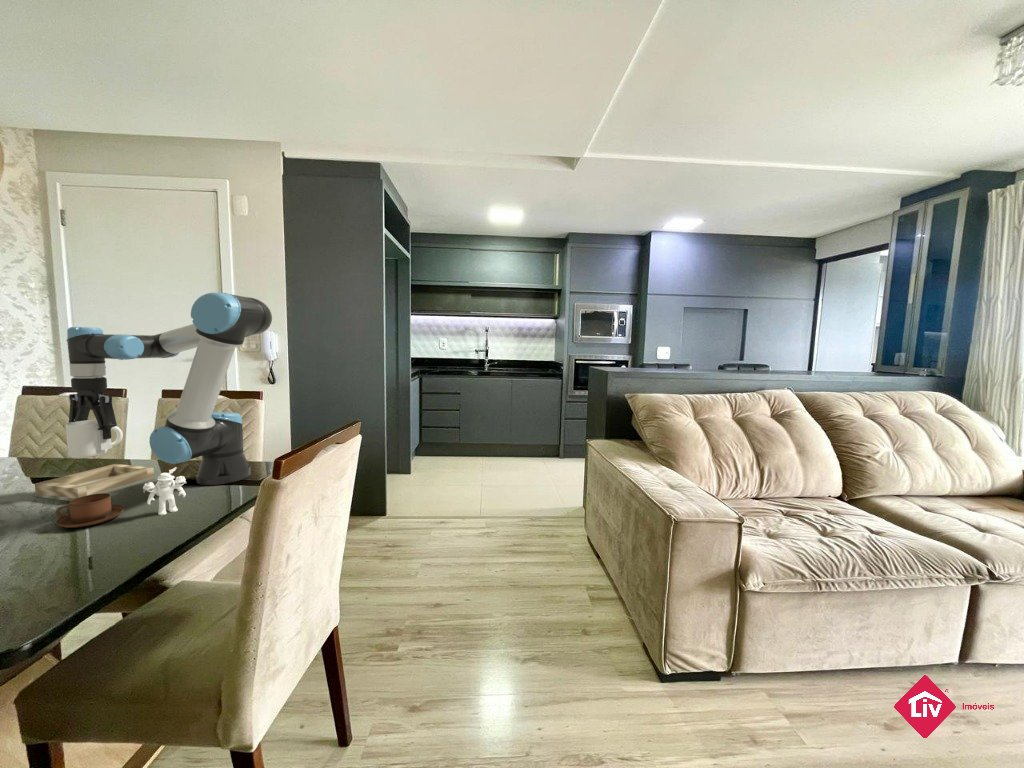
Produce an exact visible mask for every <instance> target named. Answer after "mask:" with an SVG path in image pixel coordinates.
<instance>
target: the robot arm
mask: <svg viewBox="0 0 1024 768" xmlns="http://www.w3.org/2000/svg"><path fill="white" fill-rule="evenodd" d="M190 309H191V310H190V318H191V319H192V321H191V324H188V325H185V326H181V327H178V328H175V329H174V328H173V329H170V330H168V331H164V332H161V333H157V334H154V335H153V334H152V335H149V334H147V335H143V334H142V335H141V334H140V335H139V334H121V333H120V334H119V333H118V334H107V333H106V334H104V330H103V329H102V328H100V327H86V326H84V327H83V326H71V327H68V329H67V333H66V335H67V338H66V341H67V350H68V360H69V364H68V365H69V374H70V375H69V376H71V377H72V378H71V379H70V382H71V383H70V384H71V390H72V391H76V393H71V394H70V393H69V397H68V398H69V412H68V413H69V415H68V416H69V417H68V423H71V422H77V421H87V420H89V419H88V418H89V416H90V412H91V411H92V413H93V415H94V417H95V420H97V422H98V424H99V427H100V428H98V437H99V450H105V449H107V450H109V449H113V447H112V443H111V442H112V429H111V428H112V427H115V426H117V419H116V415H115V411H114V407H113V396H112V395H104V392H103V390H106V389H107V388H108V380H107V377H105V376H106V375H107V371H106V368H107V367H106V359H108V360H109V359H111V360H120V361H123V360H135V359H155V358H156V359H157V358H158V359H168V358H174V357H176V356H178V355H179V354H180V353H182V352H184V351H185V352H186V351H188V350H192V349H195V348H196V350H195V354H194V357H193V359H192V363H191V366H190V368H189V371H188V375H187V376H186V377H187V378H186V381H185V384H184V386H183V389H182V392H181V396H180V399H179V402H178V405H177V407H176V410H175V411H172V412H170V413H169V414H168V415H167V418H166V421H165V424H164V426H159V427H158V428H155V429H154V430H153V431H152V432H151V433H150V436H149V447H150V449H151V451H152V453H153V455H154V456H155V457H156V458H157V459H158V460H160V462H161V461H162V462H164V463H166V464H170V465H171V464H172V465H173V464H174V465H176V464H180V463H186V462H188V461H191V460H194V459H195V458H199V457H201V460H200V463H199V467H198V471H197V473H196V477H195V478H196V483H197V484H198V485H200V486H201V485H202V486H216V485H217V486H219V485H224V484H225V485H226V484H229V483H234V482H238V481H241V480H244V479H246V478H248V477H250V476H251V475H252V474H251V472H252V471H251V466H250V465H249V463H248V459H247V458H246V456H245V453H244V433H243V430H244V429H243V428H244V427H243V425H244V424H243V419H242V415H241V414H240V413H238V412H225V411H221V412H220V411H219V412H215V407H216V404H217V401H218V399H219V396H220V393H221V390H222V387H223V384H224V382H225V378H226V375H227V372H228V369H229V366H230V364H231V361H232V357H233V355H234V352H235V349H236V348H237V347H240V346H243V344H244V341H245V339H246V338H248V337H251V336H252V337H253V336H255V335H259V334H262V333H265V332H266V331H267V330H268V329H270V326H271V325H272V321H273V315H272V312H271V309H270V308H269V306H267V304H265V302H263V301H261V300H259V299H257V298H254V297H250V296H241V295H236V294H232V293H227V292H207V293H206V294H202V295H201V296H199V297H198V298H197V299H196V300H195V301H194V302H193V304H192V306H191V308H190ZM117 427H118V426H117Z"/></svg>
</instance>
